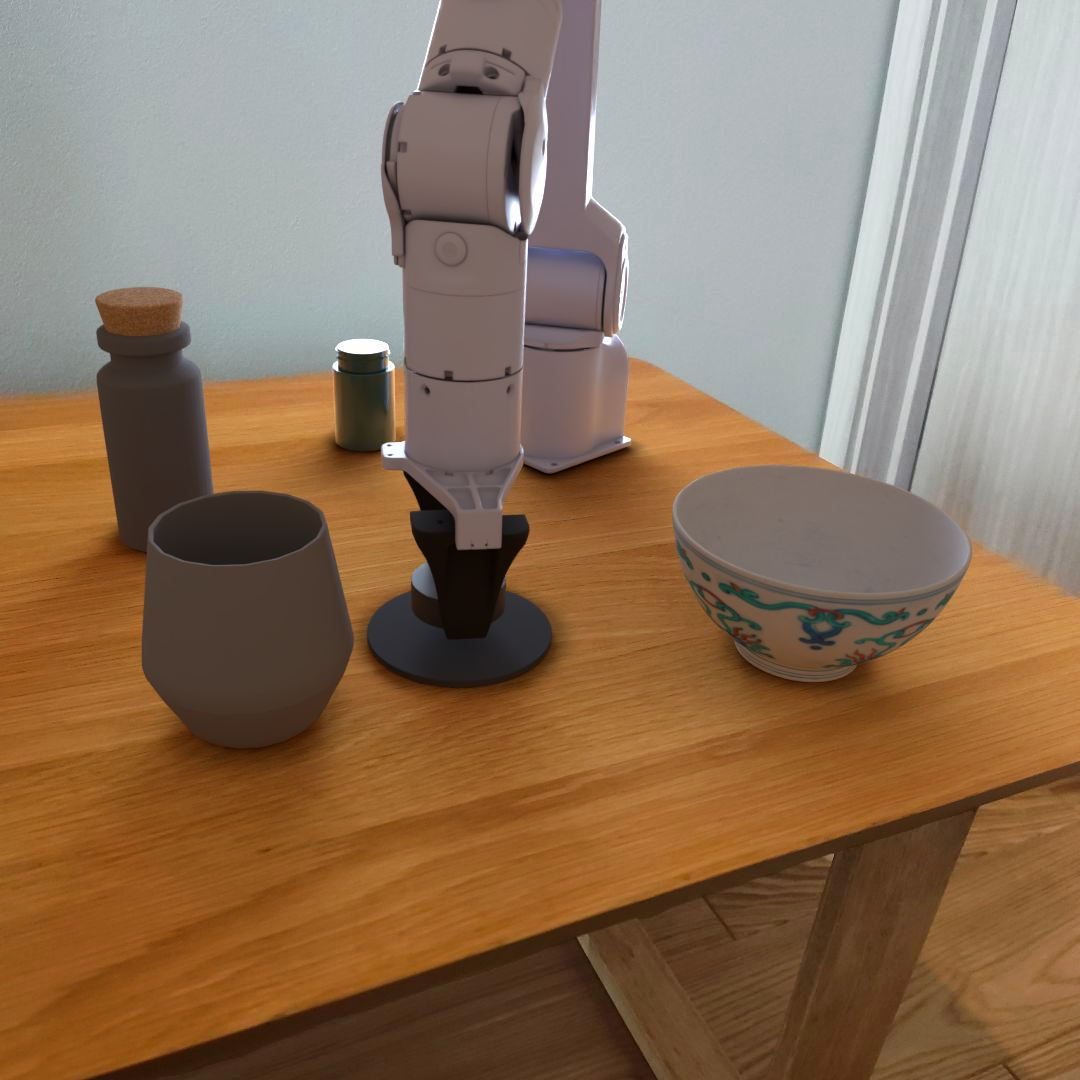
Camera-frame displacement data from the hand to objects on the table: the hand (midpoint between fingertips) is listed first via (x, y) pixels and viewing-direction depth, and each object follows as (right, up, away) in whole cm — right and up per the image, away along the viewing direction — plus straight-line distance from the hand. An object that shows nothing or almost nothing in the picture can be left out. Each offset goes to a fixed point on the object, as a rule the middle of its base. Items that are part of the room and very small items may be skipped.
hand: (460, 607), depth 57 cm
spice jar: (-9, +11, +25) cm, 29 cm away
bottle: (-19, +4, +10) cm, 22 cm away
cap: (0, +1, -1) cm, 2 cm away
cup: (-9, -5, -6) cm, 12 cm away
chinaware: (+18, -2, +1) cm, 18 cm away
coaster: (0, -2, +1) cm, 2 cm away
